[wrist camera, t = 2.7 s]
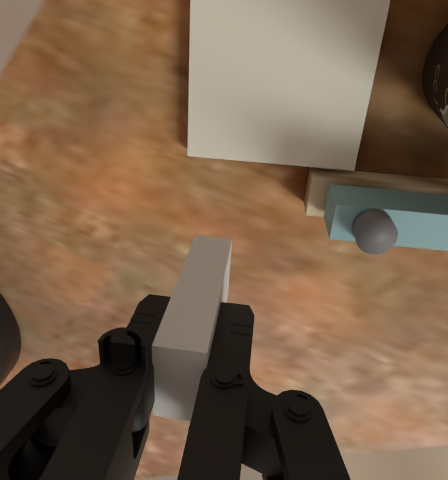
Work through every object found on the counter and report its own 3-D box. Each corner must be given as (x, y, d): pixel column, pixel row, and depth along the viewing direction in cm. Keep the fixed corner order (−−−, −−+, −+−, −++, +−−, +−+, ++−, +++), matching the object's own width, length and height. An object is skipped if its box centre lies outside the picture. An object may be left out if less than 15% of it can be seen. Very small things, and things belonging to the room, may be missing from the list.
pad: (190, 151, 27) (187, 155, 26) (194, -38, 22) (191, -41, 21) (351, 165, 26) (354, 170, 25) (391, -27, 21) (396, -29, 20)
